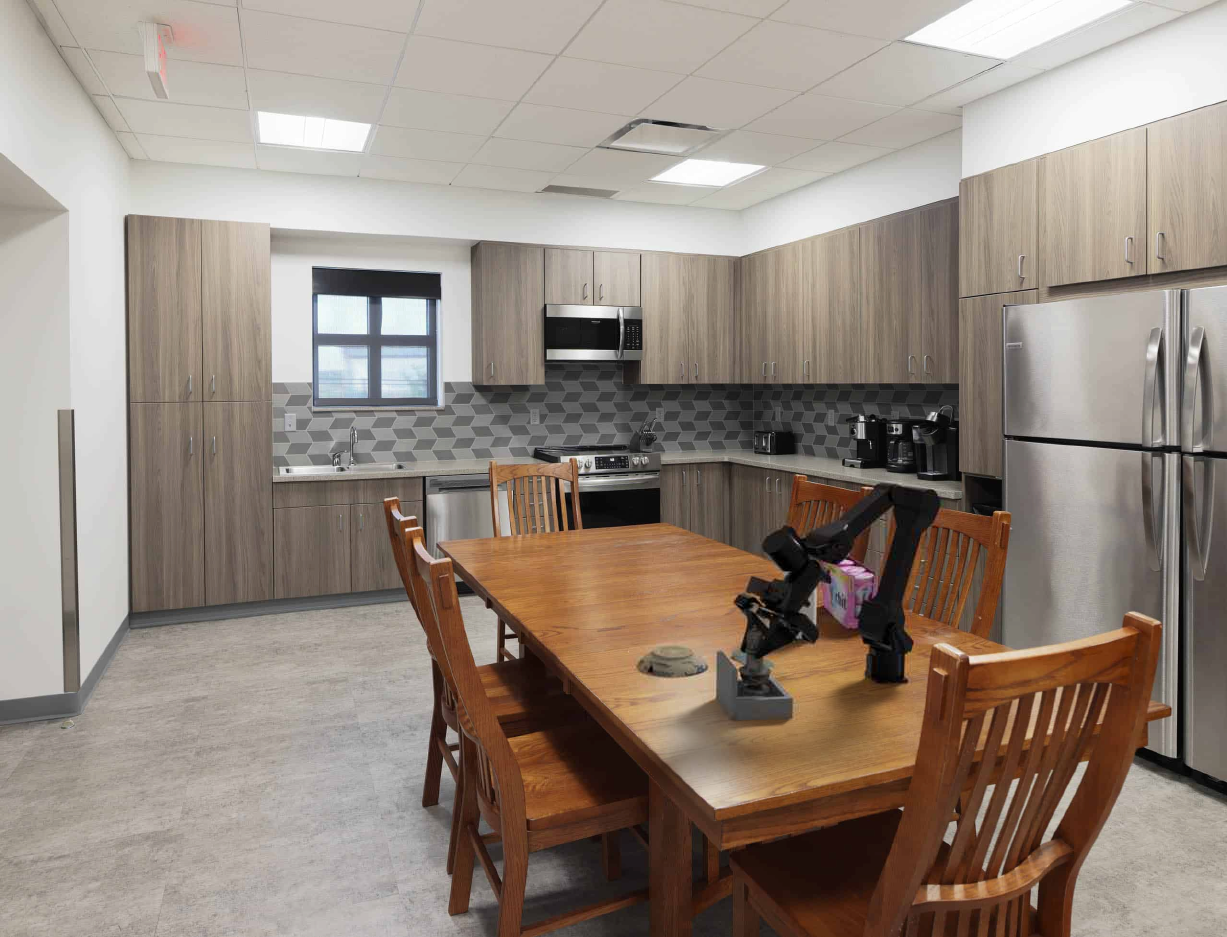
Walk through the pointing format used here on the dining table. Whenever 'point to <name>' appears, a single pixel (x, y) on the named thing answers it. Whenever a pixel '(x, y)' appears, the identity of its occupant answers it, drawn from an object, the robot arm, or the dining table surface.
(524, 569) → the dining table surface
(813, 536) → the robot arm
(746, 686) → the salt shaker
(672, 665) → the decorative bowl
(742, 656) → the leaf
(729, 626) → the dining table surface
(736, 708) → the shaker rack
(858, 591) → the gum box
